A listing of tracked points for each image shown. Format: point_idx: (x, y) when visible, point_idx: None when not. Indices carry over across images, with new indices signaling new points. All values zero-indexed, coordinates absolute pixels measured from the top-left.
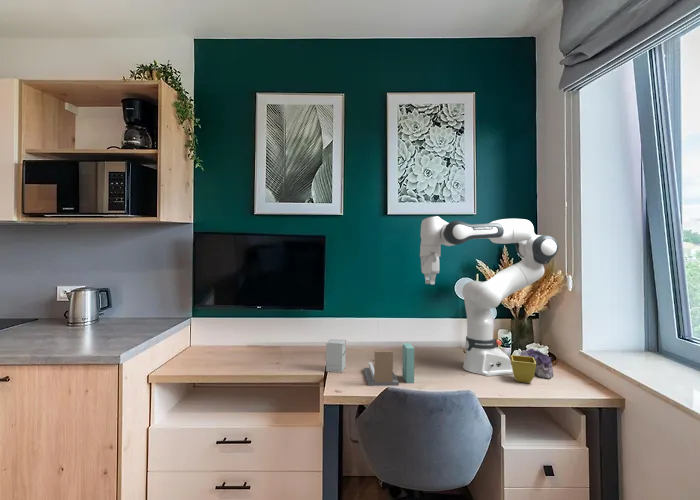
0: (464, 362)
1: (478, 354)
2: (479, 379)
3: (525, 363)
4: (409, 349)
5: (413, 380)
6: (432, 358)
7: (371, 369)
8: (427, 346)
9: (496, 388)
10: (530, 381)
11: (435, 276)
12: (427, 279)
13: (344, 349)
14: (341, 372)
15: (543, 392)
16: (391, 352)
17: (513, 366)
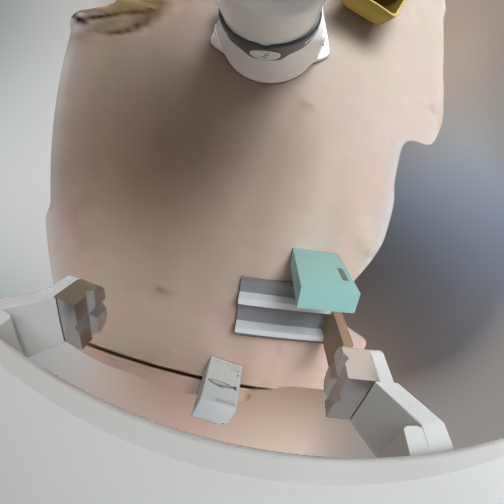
0: (255, 73)
1: (309, 47)
2: (346, 86)
3: (404, 1)
4: (355, 304)
5: (339, 257)
6: (154, 132)
7: (283, 337)
8: (58, 118)
9: (403, 89)
10: (384, 6)
11: (437, 422)
12: (55, 324)
13: (220, 390)
14: (242, 366)
15: (426, 25)
16: (351, 346)
17: (389, 19)
